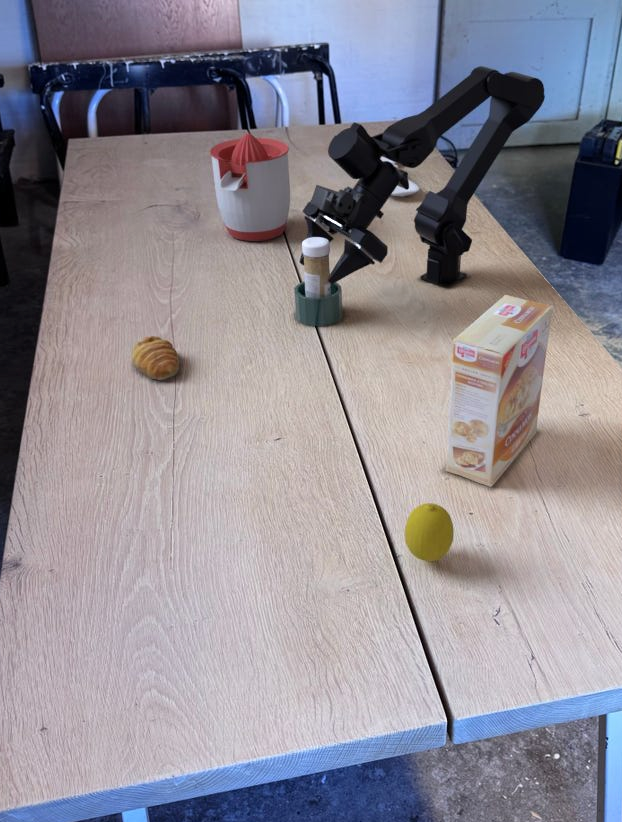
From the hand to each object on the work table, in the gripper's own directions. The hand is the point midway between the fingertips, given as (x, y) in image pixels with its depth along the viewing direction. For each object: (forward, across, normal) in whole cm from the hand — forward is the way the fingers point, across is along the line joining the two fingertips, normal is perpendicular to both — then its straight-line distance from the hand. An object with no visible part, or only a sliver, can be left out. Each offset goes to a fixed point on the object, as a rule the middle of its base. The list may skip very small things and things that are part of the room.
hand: (315, 273), depth 147 cm
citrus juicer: (-1, -40, +12) cm, 42 cm away
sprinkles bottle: (+6, 0, +6) cm, 8 cm away
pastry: (+27, +1, -15) cm, 31 cm away
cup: (+5, 0, +6) cm, 8 cm away
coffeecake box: (+7, +49, +5) cm, 49 cm away
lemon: (+21, +61, -10) cm, 65 cm away
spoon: (-31, -52, +42) cm, 74 cm away
